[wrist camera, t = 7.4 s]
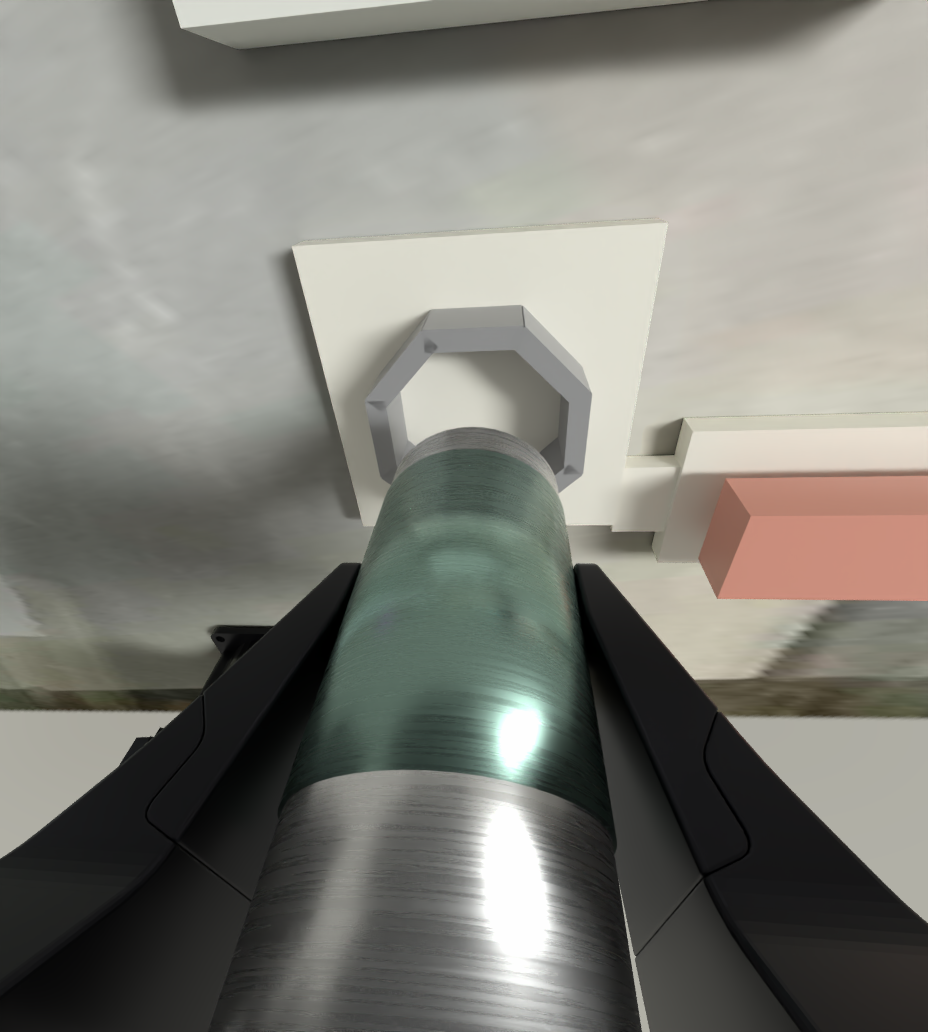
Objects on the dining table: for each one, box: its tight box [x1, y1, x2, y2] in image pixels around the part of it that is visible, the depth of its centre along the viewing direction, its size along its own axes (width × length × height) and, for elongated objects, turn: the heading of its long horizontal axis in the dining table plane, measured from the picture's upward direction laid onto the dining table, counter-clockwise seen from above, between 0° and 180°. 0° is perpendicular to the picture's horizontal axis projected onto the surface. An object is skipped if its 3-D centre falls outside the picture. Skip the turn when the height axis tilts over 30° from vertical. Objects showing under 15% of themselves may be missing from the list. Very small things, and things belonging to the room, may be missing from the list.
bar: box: [698, 476, 928, 601], centre depth 15 cm, size 12×4×2 cm, turn 94°
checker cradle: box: [292, 218, 928, 563], centre depth 15 cm, size 26×12×3 cm, turn 94°
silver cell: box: [208, 427, 642, 1032], centre depth 7 cm, size 4×4×10 cm
